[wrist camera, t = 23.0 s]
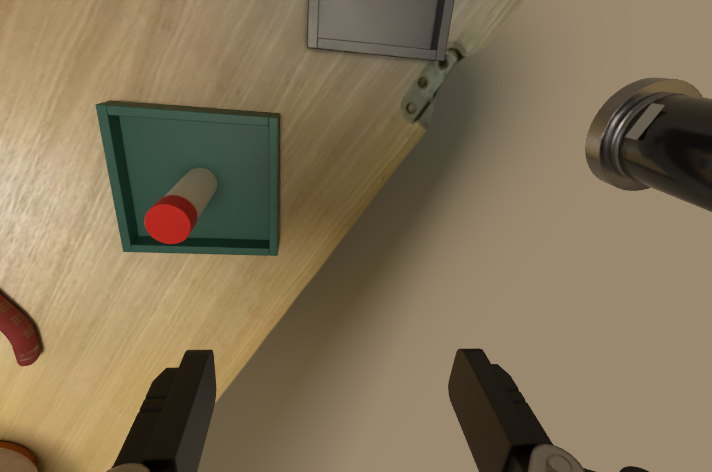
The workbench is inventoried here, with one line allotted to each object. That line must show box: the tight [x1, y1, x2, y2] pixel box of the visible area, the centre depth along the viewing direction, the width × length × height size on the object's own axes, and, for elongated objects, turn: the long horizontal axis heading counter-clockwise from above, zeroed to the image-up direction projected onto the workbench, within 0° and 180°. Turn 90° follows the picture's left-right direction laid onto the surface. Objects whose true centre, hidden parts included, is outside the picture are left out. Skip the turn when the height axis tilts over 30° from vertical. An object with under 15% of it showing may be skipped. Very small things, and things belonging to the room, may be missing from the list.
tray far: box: [96, 101, 280, 256], centre depth 36 cm, size 15×14×3 cm
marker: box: [144, 167, 218, 244], centre depth 33 cm, size 3×3×10 cm
